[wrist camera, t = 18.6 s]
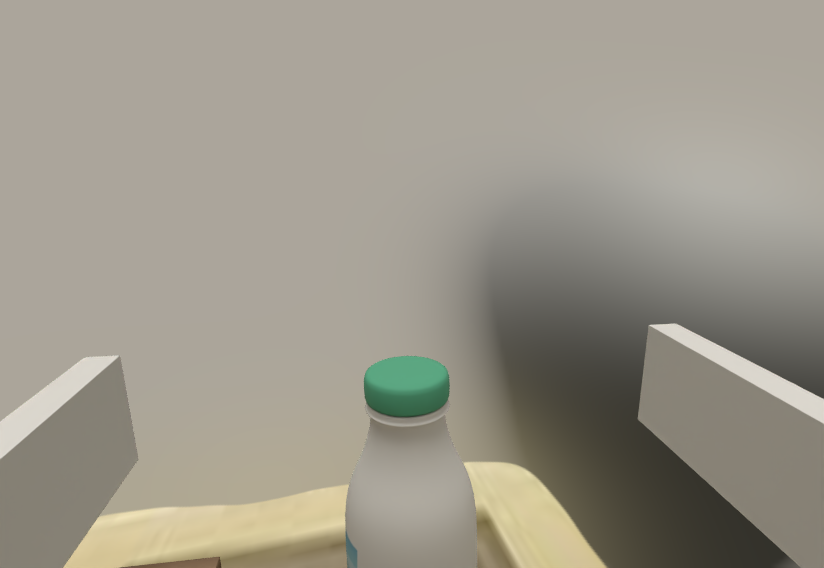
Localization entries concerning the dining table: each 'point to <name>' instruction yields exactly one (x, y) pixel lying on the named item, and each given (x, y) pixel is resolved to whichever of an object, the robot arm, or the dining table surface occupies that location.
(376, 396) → the milk bottle
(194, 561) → the wooden frame
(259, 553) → the dining table surface
